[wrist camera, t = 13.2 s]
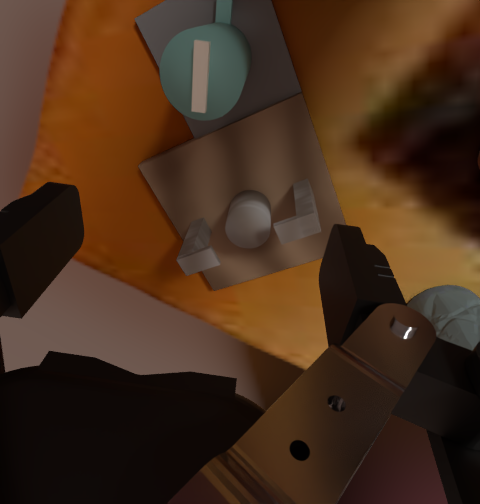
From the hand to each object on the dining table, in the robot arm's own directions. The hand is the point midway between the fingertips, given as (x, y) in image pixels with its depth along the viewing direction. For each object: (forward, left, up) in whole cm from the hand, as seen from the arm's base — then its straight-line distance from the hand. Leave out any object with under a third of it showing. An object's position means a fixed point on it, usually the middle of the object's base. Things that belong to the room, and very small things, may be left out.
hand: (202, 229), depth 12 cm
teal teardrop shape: (+1, -3, -23) cm, 23 cm away
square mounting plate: (+4, +10, -23) cm, 25 cm away
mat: (+1, -3, -23) cm, 23 cm away
